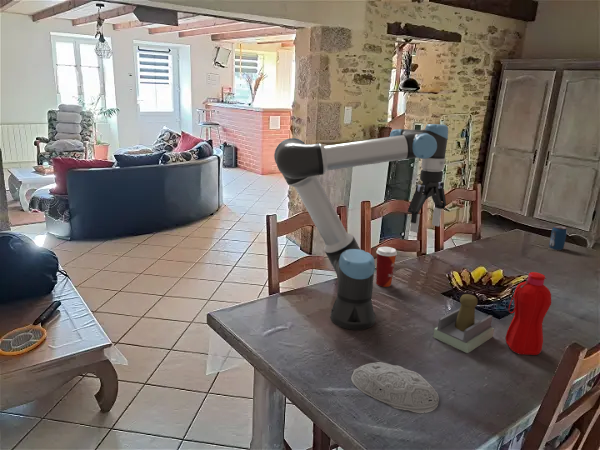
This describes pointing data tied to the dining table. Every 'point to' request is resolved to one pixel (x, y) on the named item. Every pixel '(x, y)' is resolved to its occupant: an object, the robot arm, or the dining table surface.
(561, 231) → the soda can
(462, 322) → the olive pepper shaker
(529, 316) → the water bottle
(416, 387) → the embossed oval dome
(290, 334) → the dining table surface
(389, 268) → the coffee cup
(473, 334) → the grey tray
